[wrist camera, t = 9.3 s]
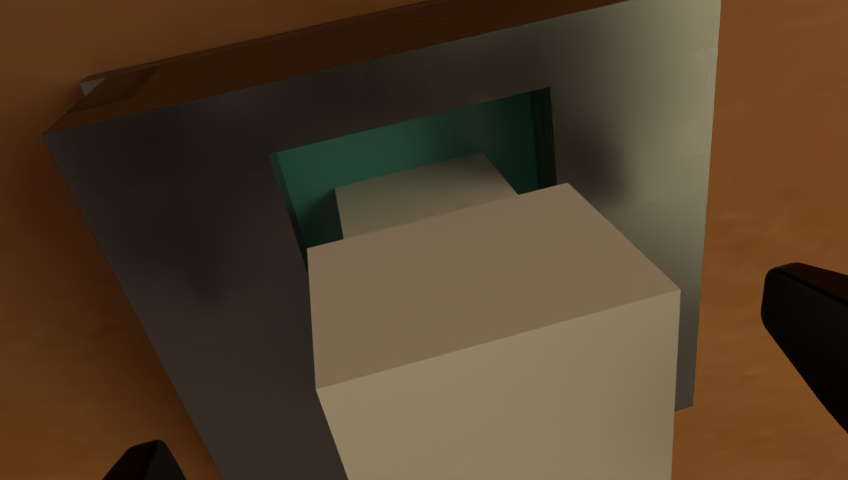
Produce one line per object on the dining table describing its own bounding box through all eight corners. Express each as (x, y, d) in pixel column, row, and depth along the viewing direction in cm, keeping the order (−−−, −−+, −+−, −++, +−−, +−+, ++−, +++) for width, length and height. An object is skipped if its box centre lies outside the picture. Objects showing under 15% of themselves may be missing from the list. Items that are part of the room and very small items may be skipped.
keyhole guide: (627, 501, 21) (692, 613, 18) (327, 594, 20) (335, 731, 17) (623, -43, 12) (752, -29, 9) (88, 76, 11) (2, 144, 8)
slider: (546, 284, 15) (728, 540, 9) (316, 345, 15) (339, 664, 8) (525, 48, 12) (776, 183, 6) (237, 114, 12) (180, 340, 5)
